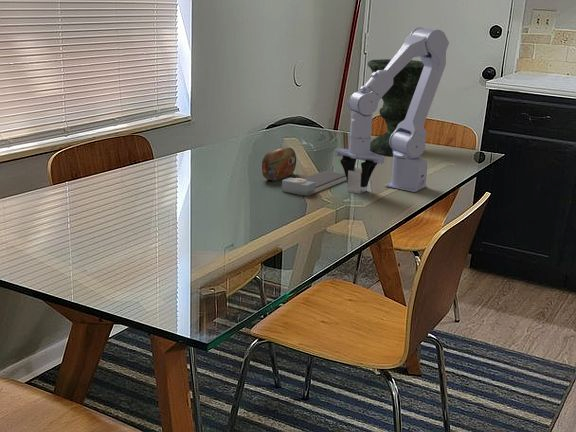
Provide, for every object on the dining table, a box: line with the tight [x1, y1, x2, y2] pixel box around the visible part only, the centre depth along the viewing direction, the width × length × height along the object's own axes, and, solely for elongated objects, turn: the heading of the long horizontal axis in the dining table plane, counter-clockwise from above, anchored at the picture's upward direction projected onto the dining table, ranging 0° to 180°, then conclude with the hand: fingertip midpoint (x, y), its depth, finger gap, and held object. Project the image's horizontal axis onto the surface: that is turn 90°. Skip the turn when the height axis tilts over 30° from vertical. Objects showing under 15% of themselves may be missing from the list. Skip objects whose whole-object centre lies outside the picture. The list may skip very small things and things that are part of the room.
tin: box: [261, 147, 297, 182], centre depth 217 cm, size 15×3×8 cm, turn 147°
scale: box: [281, 170, 347, 197], centre depth 211 cm, size 8×23×4 cm, turn 146°
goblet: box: [367, 58, 424, 157], centre depth 253 cm, size 22×23×30 cm
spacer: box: [346, 167, 368, 195], centre depth 206 cm, size 4×4×6 cm
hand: (357, 185), depth 206 cm, fingers closed on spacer, 4 cm apart
